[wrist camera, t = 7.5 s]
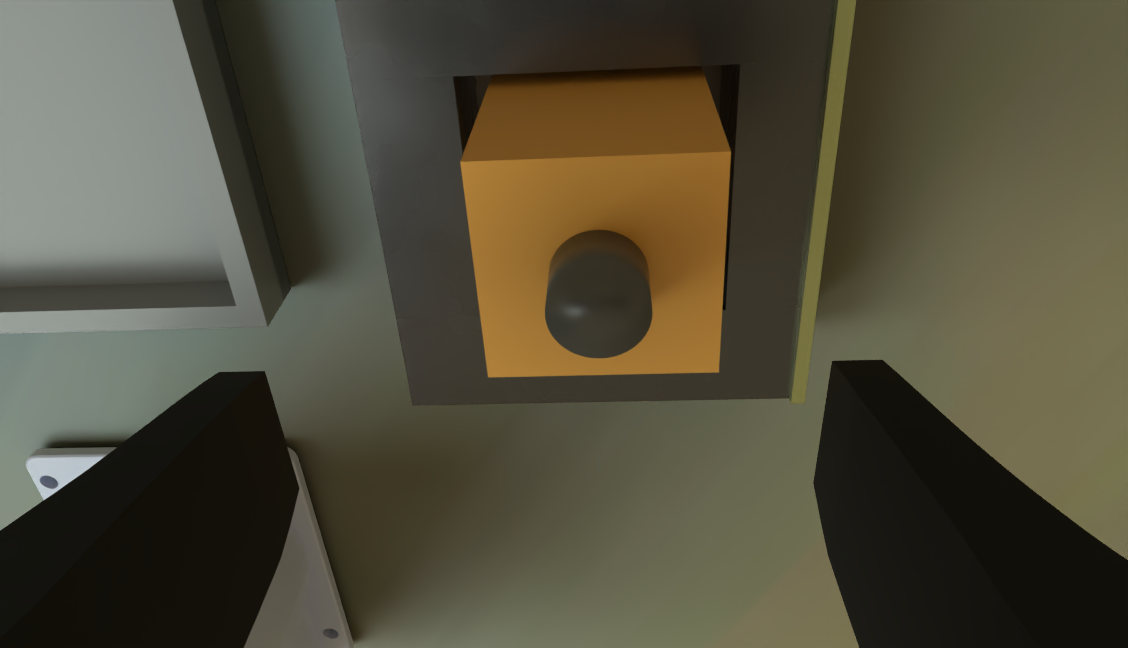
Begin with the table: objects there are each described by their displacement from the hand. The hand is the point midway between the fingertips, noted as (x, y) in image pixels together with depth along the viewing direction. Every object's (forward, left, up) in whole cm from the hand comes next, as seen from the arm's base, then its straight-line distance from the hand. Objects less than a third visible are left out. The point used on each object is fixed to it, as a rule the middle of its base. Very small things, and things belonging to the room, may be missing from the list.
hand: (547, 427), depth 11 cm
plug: (0, -1, -9) cm, 9 cm away
